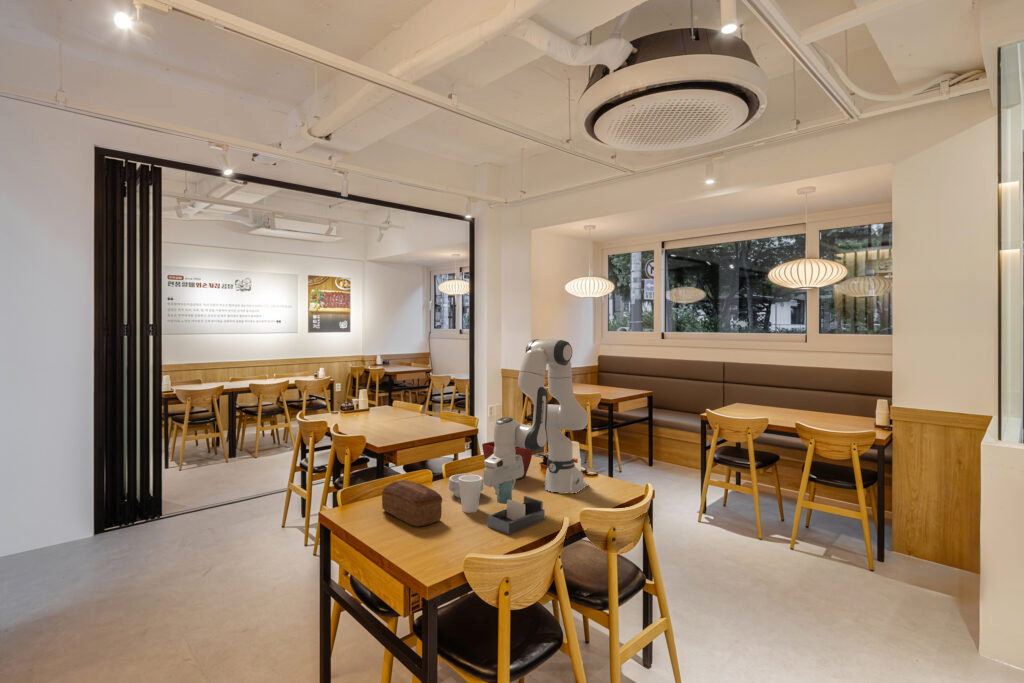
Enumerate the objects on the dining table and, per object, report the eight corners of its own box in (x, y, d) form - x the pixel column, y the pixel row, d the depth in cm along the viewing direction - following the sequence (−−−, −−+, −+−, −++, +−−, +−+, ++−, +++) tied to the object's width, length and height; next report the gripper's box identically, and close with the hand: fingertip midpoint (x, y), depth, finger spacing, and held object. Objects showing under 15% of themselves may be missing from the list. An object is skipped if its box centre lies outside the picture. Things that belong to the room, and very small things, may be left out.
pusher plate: (508, 516, 188) (509, 499, 188) (525, 522, 182) (525, 504, 182) (506, 517, 187) (506, 499, 187) (522, 523, 181) (523, 505, 181)
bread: (415, 532, 176) (416, 498, 176) (376, 511, 196) (377, 480, 196) (447, 522, 185) (447, 490, 185) (406, 503, 206) (407, 474, 206)
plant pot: (506, 485, 231) (506, 450, 231) (480, 476, 245) (481, 443, 245) (534, 478, 244) (535, 444, 244) (509, 470, 258) (509, 438, 258)
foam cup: (485, 508, 200) (486, 477, 200) (472, 515, 192) (473, 482, 192) (467, 504, 205) (467, 473, 205) (453, 511, 197) (453, 479, 197)
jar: (504, 497, 203) (504, 473, 202) (515, 501, 198) (515, 476, 198) (493, 501, 198) (493, 476, 198) (504, 505, 194) (504, 480, 194)
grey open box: (523, 512, 196) (523, 495, 196) (544, 520, 188) (544, 502, 188) (487, 526, 181) (487, 507, 181) (508, 535, 174) (508, 515, 174)
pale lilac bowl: (485, 490, 223) (485, 473, 223) (479, 501, 208) (480, 483, 208) (452, 489, 225) (452, 472, 225) (444, 500, 210) (445, 481, 210)
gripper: (516, 452, 207) (516, 484, 208) (480, 461, 193) (481, 496, 193) (527, 454, 203) (527, 487, 203) (492, 465, 188) (492, 500, 189)
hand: (504, 492), depth 198 cm, fingers closed on jar, 6 cm apart
